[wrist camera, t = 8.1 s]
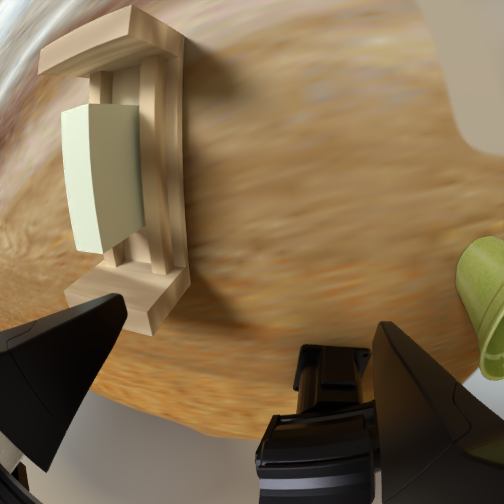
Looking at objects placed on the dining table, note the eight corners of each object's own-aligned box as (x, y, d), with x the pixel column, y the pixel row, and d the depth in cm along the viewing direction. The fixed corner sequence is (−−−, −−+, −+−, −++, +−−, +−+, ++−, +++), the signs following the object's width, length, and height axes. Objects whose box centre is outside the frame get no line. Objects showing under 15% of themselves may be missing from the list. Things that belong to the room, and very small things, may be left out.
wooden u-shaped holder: (190, 284, 23) (152, 336, 17) (116, 272, 24) (71, 312, 18) (184, 36, 15) (131, 4, 9) (101, 58, 16) (40, 49, 10)
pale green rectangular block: (150, 222, 20) (103, 253, 15) (118, 220, 21) (70, 249, 16) (144, 106, 17) (88, 103, 11) (110, 112, 17) (54, 115, 12)
